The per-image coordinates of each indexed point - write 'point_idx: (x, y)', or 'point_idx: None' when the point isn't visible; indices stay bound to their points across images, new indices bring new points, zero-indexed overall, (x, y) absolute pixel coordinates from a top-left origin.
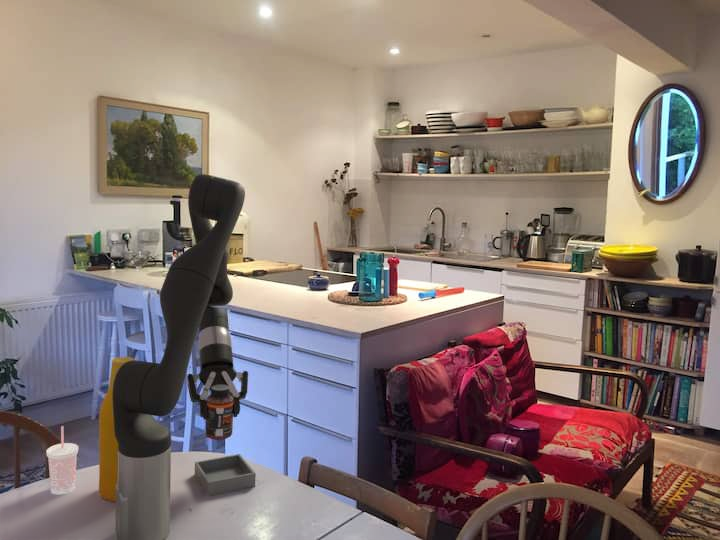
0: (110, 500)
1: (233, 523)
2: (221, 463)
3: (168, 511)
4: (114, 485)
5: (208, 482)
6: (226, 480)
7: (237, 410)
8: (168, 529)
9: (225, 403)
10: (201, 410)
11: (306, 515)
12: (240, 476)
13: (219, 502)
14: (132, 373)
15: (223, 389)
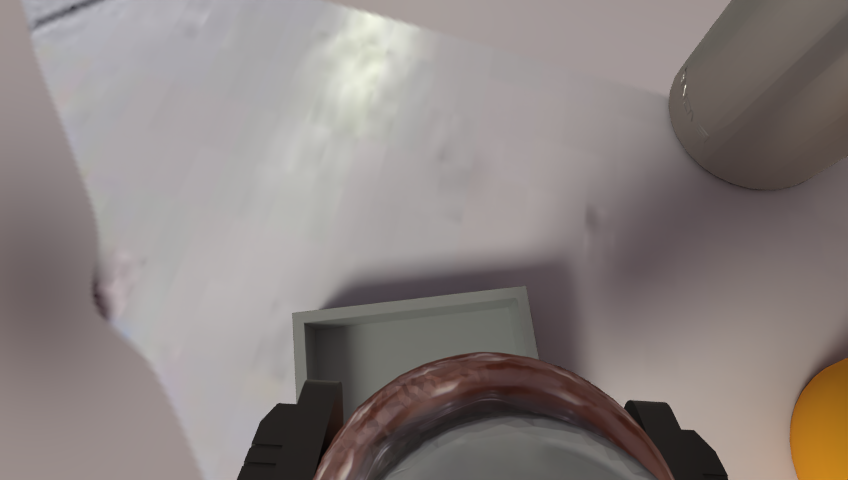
0: None
1: (453, 90)
2: None
3: (714, 26)
4: None
5: (524, 288)
6: (438, 296)
7: (299, 398)
8: (679, 74)
9: (448, 361)
10: (713, 470)
11: (201, 65)
12: (369, 304)
13: (477, 236)
14: None
15: (488, 447)
